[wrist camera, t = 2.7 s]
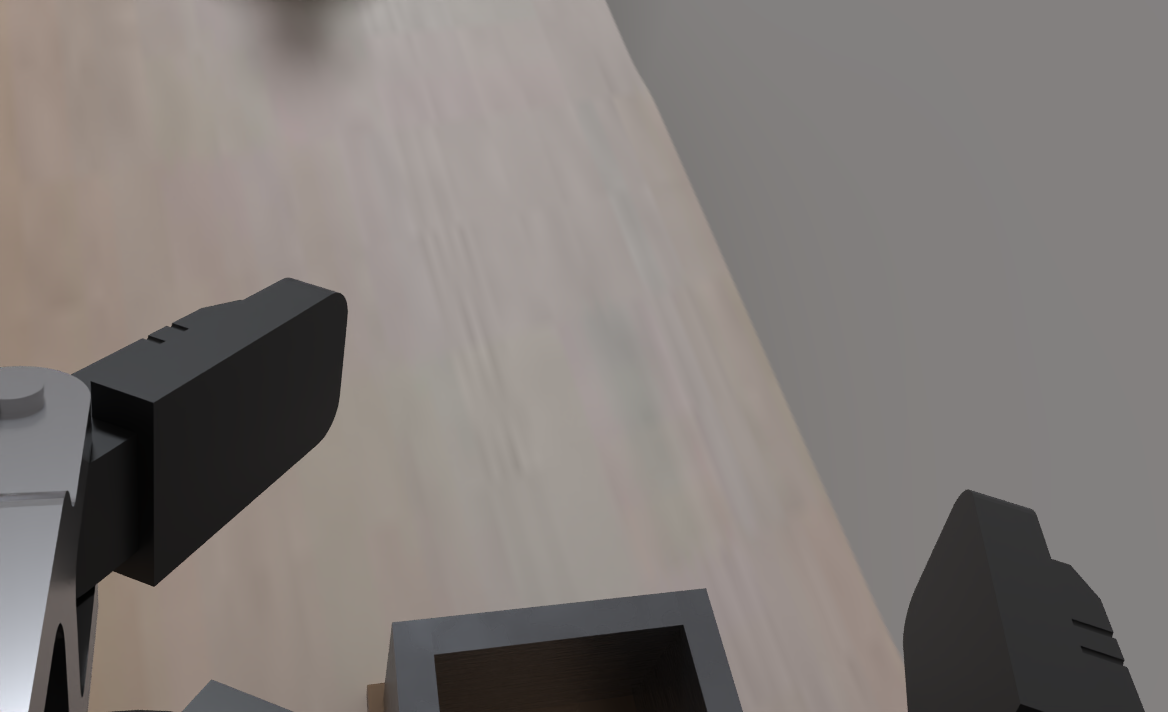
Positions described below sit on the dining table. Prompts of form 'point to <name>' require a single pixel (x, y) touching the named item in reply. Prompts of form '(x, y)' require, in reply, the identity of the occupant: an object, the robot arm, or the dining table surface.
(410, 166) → the dining table surface
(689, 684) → the bottle sleeve
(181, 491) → the robot arm
